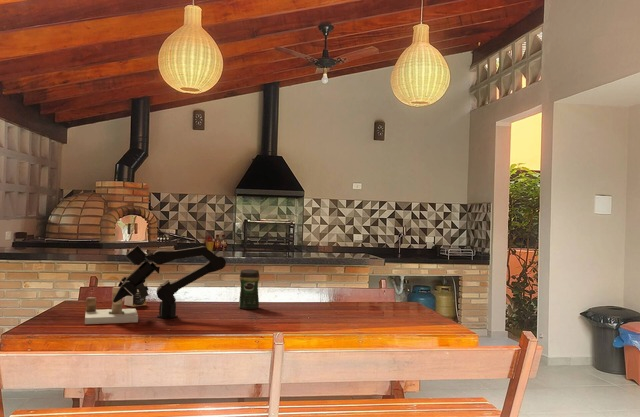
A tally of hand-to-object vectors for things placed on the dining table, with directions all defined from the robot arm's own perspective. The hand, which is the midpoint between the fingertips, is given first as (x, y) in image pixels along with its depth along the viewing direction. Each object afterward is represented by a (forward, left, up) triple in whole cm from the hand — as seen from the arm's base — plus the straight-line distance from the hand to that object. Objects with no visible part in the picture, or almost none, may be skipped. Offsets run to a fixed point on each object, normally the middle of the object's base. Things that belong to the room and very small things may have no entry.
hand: (113, 300), depth 233 cm
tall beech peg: (-1, -1, -8) cm, 8 cm away
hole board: (0, 0, -8) cm, 8 cm away
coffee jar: (-29, -57, -8) cm, 64 cm away
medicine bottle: (+17, -29, -8) cm, 34 cm away
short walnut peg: (+10, +3, -5) cm, 12 cm away
